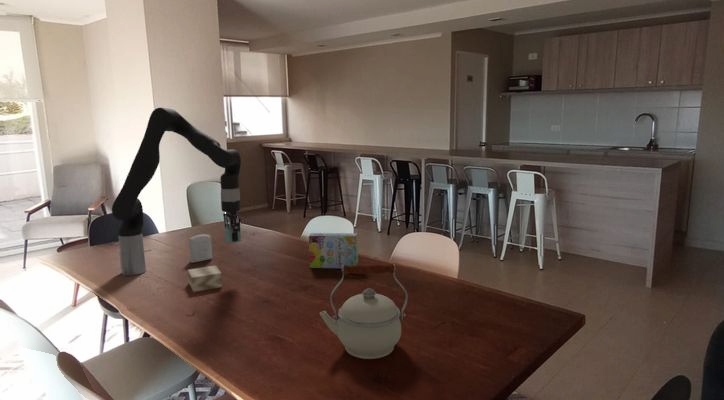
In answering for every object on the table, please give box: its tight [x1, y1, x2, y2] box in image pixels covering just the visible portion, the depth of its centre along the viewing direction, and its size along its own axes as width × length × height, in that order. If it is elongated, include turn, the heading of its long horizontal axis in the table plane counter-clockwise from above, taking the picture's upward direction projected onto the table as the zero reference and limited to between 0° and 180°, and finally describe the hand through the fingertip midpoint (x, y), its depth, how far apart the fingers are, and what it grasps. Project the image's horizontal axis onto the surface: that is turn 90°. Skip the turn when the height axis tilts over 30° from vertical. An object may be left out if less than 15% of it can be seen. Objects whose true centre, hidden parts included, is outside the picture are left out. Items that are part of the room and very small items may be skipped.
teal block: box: [223, 226, 242, 244], centre depth 189 cm, size 5×5×6 cm
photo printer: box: [188, 234, 213, 263], centre depth 216 cm, size 10×4×12 cm, turn 134°
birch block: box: [187, 264, 223, 293], centre depth 184 cm, size 11×11×6 cm
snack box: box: [308, 232, 359, 269], centre depth 204 cm, size 21×6×15 cm, turn 84°
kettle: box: [319, 263, 409, 360], centre depth 130 cm, size 25×18×25 cm
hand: (232, 239), depth 189 cm, fingers closed on teal block, 5 cm apart
